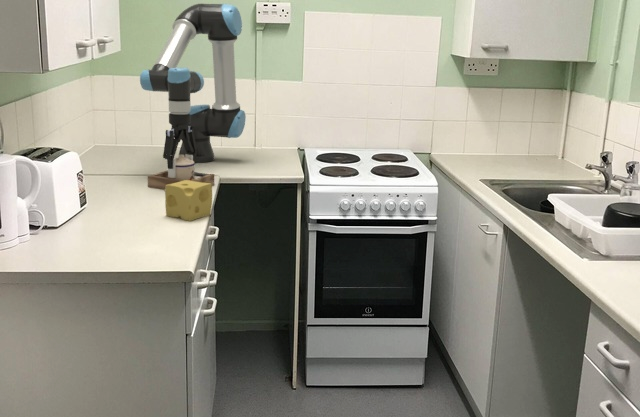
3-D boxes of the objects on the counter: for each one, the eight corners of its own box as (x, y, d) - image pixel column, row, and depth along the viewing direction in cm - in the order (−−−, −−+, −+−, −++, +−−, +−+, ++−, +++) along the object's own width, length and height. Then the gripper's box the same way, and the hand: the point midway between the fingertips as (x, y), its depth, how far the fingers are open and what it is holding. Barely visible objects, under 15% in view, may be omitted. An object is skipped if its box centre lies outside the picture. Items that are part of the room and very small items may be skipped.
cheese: (190, 221, 208) (189, 189, 206) (163, 215, 214) (162, 184, 211) (213, 214, 217) (212, 183, 215) (187, 209, 223) (186, 178, 220)
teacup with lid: (195, 189, 248) (195, 157, 245) (169, 190, 246) (168, 157, 243) (194, 181, 259) (193, 150, 256) (169, 182, 257) (168, 151, 254)
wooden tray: (173, 179, 262) (173, 168, 261) (214, 184, 255) (214, 174, 254) (147, 187, 249) (147, 176, 248) (190, 193, 242) (190, 182, 241)
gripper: (189, 108, 256) (189, 168, 262) (150, 115, 236) (152, 179, 242) (206, 110, 253) (206, 170, 259) (169, 117, 233) (170, 182, 239)
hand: (180, 174), depth 251 cm, fingers open, 10 cm apart
